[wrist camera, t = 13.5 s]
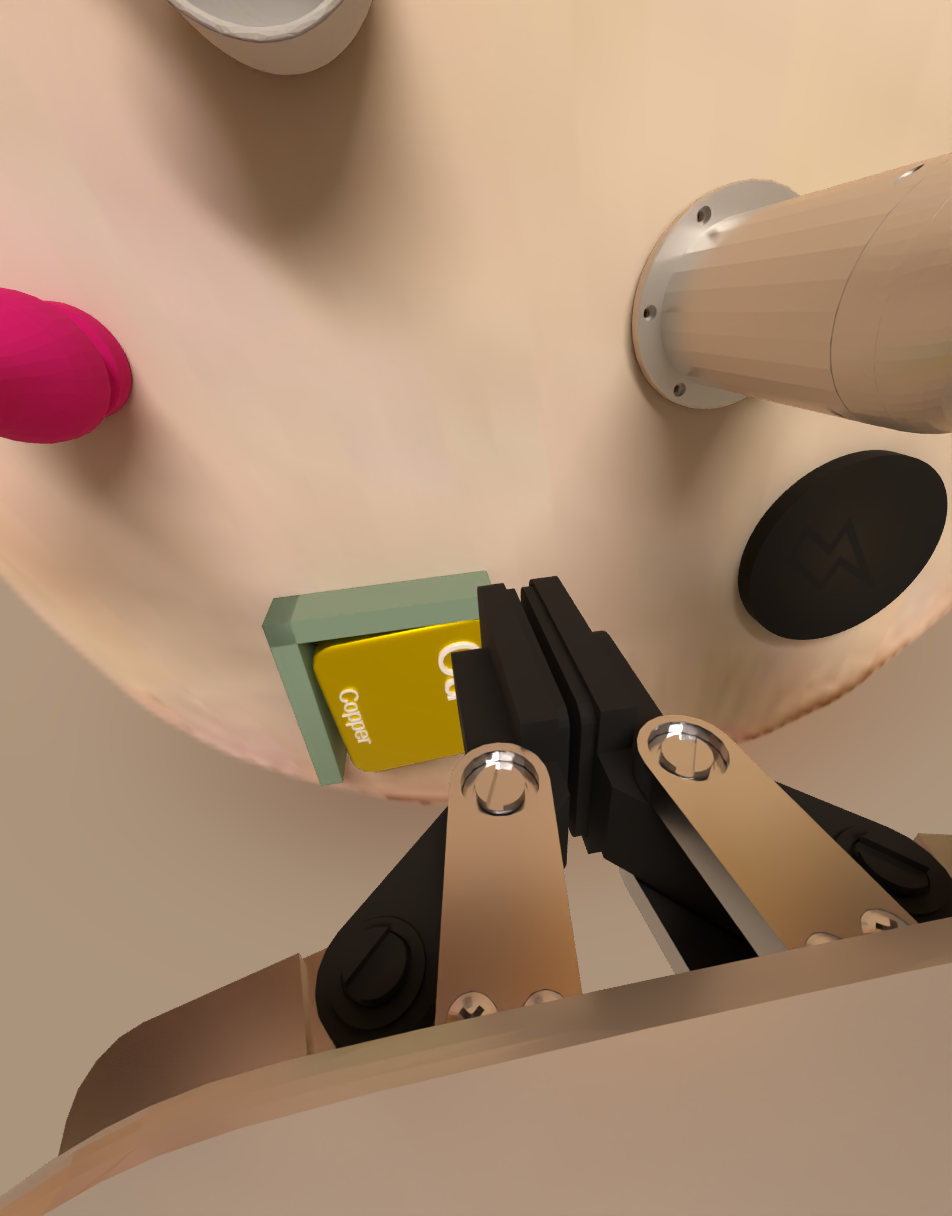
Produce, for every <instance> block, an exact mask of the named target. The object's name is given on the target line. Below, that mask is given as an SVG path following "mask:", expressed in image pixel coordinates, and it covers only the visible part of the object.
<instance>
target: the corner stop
mask: <svg viewBox="0 0 952 1216" xmlns="http://www.w3.org/2000/svg"><path fill="white" fill-rule="evenodd" d="M485 585H491V583H490V580H489V577H488V574H487V571H480V572H472V573H464V574H457V575H449V576H441V577H434V578H426V579H418V580H411V581H403V582H396V583H388V584H380V585H373V586H365V587H357V588H350V589H342V590H335V591H327V592H319V593H312V594H304V595H296V596H289V597H281V598H274V599H273V601H272V603H271V606H270V608H269V610H268V613H267V615H266V617H265V620H264V622H263V625H262V627H263V630H264V633H265V635H266V638H267V641H268V643H269V646H270V649H271V652H272V654H273V657H274V660H275V662H276V665H277V668H278V671H279V673H280V676H281V679H282V681H283V684H284V687H285V689H286V692H287V695H288V698H289V700H290V703H291V706H292V708H293V711H294V714H295V717H296V719H297V722H298V725H299V727H300V730H301V733H302V736H303V738H304V741H305V744H306V746H307V749H308V752H309V755H310V757H311V760H312V763H313V765H314V768H315V771H316V773H317V776H318V779H319V782H320V784H321V786H324V785H331V784H337V783H343V777H344V768H345V759H346V747H345V744H344V742H343V740H342V737H341V735H340V733H339V730H338V728H337V726H336V723H335V721H334V719H333V716H332V714H331V712H330V709H329V707H328V705H327V702H326V700H325V698H324V695H323V693H322V691H321V688H320V686H319V684H318V681H317V679H316V677H315V674H314V671H313V666H312V664H313V657H314V653H315V646H314V643H313V642H315V641H322V640H329V639H336V638H344V637H351V636H358V635H365V634H372V633H379V632H387V631H394V630H401V629H408V628H415V627H422V626H430V625H437V624H444V623H451V622H458V621H465V620H473V619H479V610H478V598H477V586H485Z"/></svg>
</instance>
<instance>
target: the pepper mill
mask: <svg viewBox="0 0 952 1216" xmlns="http://www.w3.org/2000/svg"><path fill="white" fill-rule="evenodd" d="M130 391H131V371H130V367H129V363H128V360H127V358H126V355H125V353H124V351H123V350H122V348H121V346H120V345H119V343H118V342H117V340H116V339H115V337H114V336H113V335H112V334H111V333H110V332H109V331H108V330H107V328H106V327H105V326H103V325H102V324H101V323H100V322H99V321H98V320H96V319H95V318H93V317H92V316H91V315H89V314H87V313H85V312H84V311H82V310H80V309H78V308H76V307H73V306H70V305H68V304H65V303H60V302H54V301H42V300H40V299H38V298H37V297H34V296H31V295H28V294H25V293H22V292H19V291H16V290H11V289H5V288H0V437H4V438H7V439H11V440H15V441H21V442H27V443H40V444H52V443H58V442H63V441H68V440H71V439H75V438H79V437H81V436H83V435H85V434H87V433H89V432H91V431H92V430H93V429H94V428H95V427H97V426H98V425H99V424H100V423H101V421H102V420H103V418H104V417H107V416H109V415H112V414H113V413H115V412H117V411H118V410H119V409H120V408H121V407H122V406H123V405H124V404H125V403H126V401H127V399H128V397H129V394H130Z"/></svg>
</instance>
